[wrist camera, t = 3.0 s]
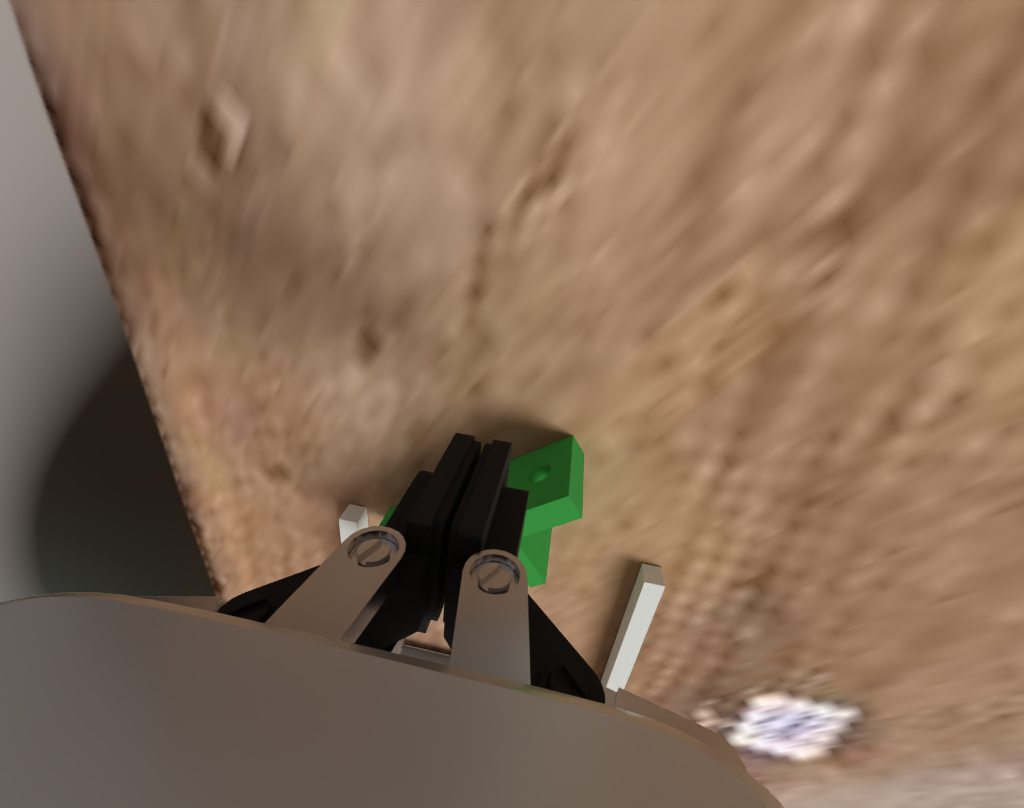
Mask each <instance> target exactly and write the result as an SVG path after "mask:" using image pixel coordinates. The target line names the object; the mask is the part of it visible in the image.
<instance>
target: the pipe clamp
mask: <svg viewBox="0 0 1024 808" xmlns="http://www.w3.org/2000/svg"><path fill="white" fill-rule="evenodd" d="M583 471H584V453H583V452H582V450H581V448H580V446H579V445H578V443H577V441H576V440H575V438H574V436H573V435H572V436H570V437H567V438H565V439H562V440H560V441H557V442H555V443H552V444H550V445H547V446H545V447H542V448H540V449H537V450H535V451H532V452H530V453H527V454H525V455H522V456H520V457H517V458H515V459H512V460H510V466H509V474H508V481H507V487H510V488H516V489H521V490H526V491H529V497H528V504H527V510H526V516H525V522H524V527H523V533H522V538H521V544H520V549H519V554H518V559H519V560H520V561H521V562H522V564H523V565H524V567H525V568H526V573H527V584H528V585H529V586H530V587H533V586H537V585H541V584H544V583H546V576H547V567H548V558H549V549H550V540H551V532H552V527H555V526H558V525H561V524H564V523H567V522H571V521H574V520H577V519H580V518H582V508H583ZM396 507H397V506H395V507H393V508H390V509H389V510H388V512H387V514H386V515H385V517H384V518H383V520H382V522H381V523H380V525H379V526H385V525H386V523H387V522H388V520H389V518H390V517H391V515H392V514H393V512H394V511H395V509H396ZM443 606H444V605H443Z"/></svg>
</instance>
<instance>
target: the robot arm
mask: <svg viewBox="0 0 1024 808" xmlns="http://www.w3.org/2000/svg"><path fill="white" fill-rule="evenodd" d="M480 451H481V442H477V441H475V436H471V435H465V434H460V433H456V434H455V436H454V437H453V439H452V441H451V443H450V444H449V446H448V448H447V450H446V451H445V453H444V455H443V457H442V458H441V460H440V462H439V464H438V465H437V467H436V469H435V471H434V472H433V473H431V472H426V471H420V472H419V473H418V474H417V476H416V477H415V479H414V480H413V482H412V483H411V485H410V487H409V488H408V490H407V491H406V493H405V495H404V496H403V498H402V499H401V501H400V503H399V504H398V506H397V507H396V509H395V511H394V512H393V514H392V515H391V517H390V518H389V520H388V522H387V523H386V525H385V526H372V527H367V528H363V529H361V530H359V531H356V532H354V533H353V534H351V535H350V536H349V537H348V538H346V539H345V540H344V541H343V543H342V544H341V545H340V546H339V547H338V548H337V549H336V550H335V551H334V552H333V553H332V554H331V555H330V556H329V557H328V558H327V559H326V560H325V561H324V562H323V563H322V564H321V565H319V566H316V567H314V568H311V569H308V570H305V571H303V572H300V573H297V574H294V575H292V576H289V577H286V578H283V579H281V580H278V581H275V582H273V583H270V584H267V585H264V586H262V587H259V588H256V589H253V590H251V591H248V592H245V593H243V594H241V595H239V596H237V597H234V598H232V599H231V600H230V601H228V602H223V598H222V597H158V596H157V597H154V596H153V597H152V596H126V595H117V594H106V593H57V594H47V595H39V596H29V597H24V598H18V599H13V600H9V601H5V602H1V603H0V808H784V807H783V806H782V804H781V803H780V802H779V801H778V800H777V799H776V798H775V797H774V796H773V795H772V794H771V793H770V791H769V790H768V789H766V788H765V787H764V786H763V785H762V784H761V783H760V782H758V781H757V780H756V779H755V778H754V777H753V776H752V775H750V774H749V773H748V772H747V771H746V767H745V766H744V764H743V762H742V760H741V758H740V757H739V755H738V753H737V752H736V751H735V749H734V748H733V747H732V746H731V745H730V744H729V743H728V742H727V741H726V740H725V739H724V738H722V737H721V736H719V735H718V734H716V733H715V732H713V731H712V730H709V729H707V728H705V727H703V726H701V725H699V724H697V723H694V722H692V721H690V720H688V719H686V718H684V717H682V716H679V715H677V714H675V713H673V712H671V711H669V710H667V709H665V708H662V707H660V706H658V705H656V704H654V703H652V702H650V701H647V700H645V699H643V698H641V697H639V696H637V695H635V694H632V693H630V692H628V691H626V690H624V689H622V688H620V687H619V688H618V691H617V692H615V691H613V690H611V689H609V688H607V687H605V686H603V685H602V684H601V682H600V680H599V678H598V677H597V675H596V674H595V672H594V671H593V670H592V669H591V667H590V666H589V665H588V664H587V663H586V662H585V660H584V659H583V658H582V657H581V656H580V655H579V653H578V652H577V651H576V650H575V649H574V647H573V646H572V645H571V644H570V643H569V642H568V640H567V639H566V638H565V637H564V636H563V634H562V633H561V632H560V631H559V630H558V629H557V627H556V626H555V625H554V624H553V623H552V622H551V620H550V619H549V618H548V617H547V616H546V614H545V613H544V612H543V611H542V610H541V609H540V607H539V606H538V605H537V604H536V603H535V602H534V600H533V599H532V598H531V597H530V596H529V594H528V584H527V573H526V568H525V567H524V565H523V564H522V562H521V561H520V560H519V559H518V554H519V549H520V544H521V538H522V533H523V527H524V522H525V516H526V510H527V504H528V497H529V491H526V490H521V489H516V488H510V487H507V481H508V474H509V466H510V459H511V451H512V443H510V442H504V441H499V440H494V441H493V443H492V444H488V443H486V444H485V446H484V449H483V451H482V453H481V456H480ZM443 605H444V617H443V622H444V623H445V626H444V638H445V640H446V642H447V643H448V645H449V647H450V648H451V657H450V664H449V666H448V665H444V664H440V663H435V662H431V661H427V660H422V659H418V658H414V657H410V656H405V655H401V654H400V652H401V651H402V648H403V646H404V643H405V638H406V637H407V636H409V635H411V634H413V633H415V632H417V631H418V632H422V633H426V631H427V628H428V626H429V623H430V620H435V621H438V619H439V617H440V614H441V611H442V608H443Z"/></svg>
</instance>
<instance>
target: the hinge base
mask: <svg viewBox="0 0 1024 808" xmlns="http://www.w3.org/2000/svg"><path fill="white" fill-rule="evenodd" d="M339 527H340V536H341V544H342V543H343V541H344V540H345V539H346V538H348V537H349V536H350V535H351V534H353V533H354V532H356V531H359V530H361V529H363V528H367V527H368V515H367V507H362V506H357V505H352V504H349V506H348V507H347V508H346V510H345V511H344V512H343V514H342V515H341V516H340V518H339ZM664 588H665V583H664V577H663V572H662V567H657V566H652V565H648V564H643V563H642V565H641V568H640V571H639V574H638V576H637V579H636V582H635V585H634V588H633V591H632V594H631V596H630V599H629V602H628V605H627V608H626V611H625V613H624V616H623V619H622V622H621V625H620V628H619V631H618V633H617V636H616V639H615V642H614V645H613V648H612V650H611V653H610V656H609V659H608V662H607V665H606V668H605V670H604V673H603V676H602V679H601V684H602V685H603V686H605V687H607V688H609V689H611V690H613V691H615V692H617V691H618V688H619V687H620V688H622V689H624V688H625V685H626V683H627V680H628V678H629V675H630V673H631V670H632V668H633V665H634V663H635V660H636V658H637V655H638V653H639V650H640V648H641V645H642V643H643V640H644V638H645V635H646V633H647V630H648V628H649V625H650V623H651V620H652V618H653V615H654V613H655V611H656V608H657V606H658V603H659V601H660V598H661V596H662V593H663V591H664ZM400 654H401V655H405V656H410V657H414V658H418V659H422V660H427V661H431V662H435V663H440V664H444V665H448V666H449V664H450V657H451V655H448V654H444V653H439V652H435V651H431V650H426V649H422V648H418V647H414V646H409V645H405V644H404V646H403V648H402V651H401V652H400Z"/></svg>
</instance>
